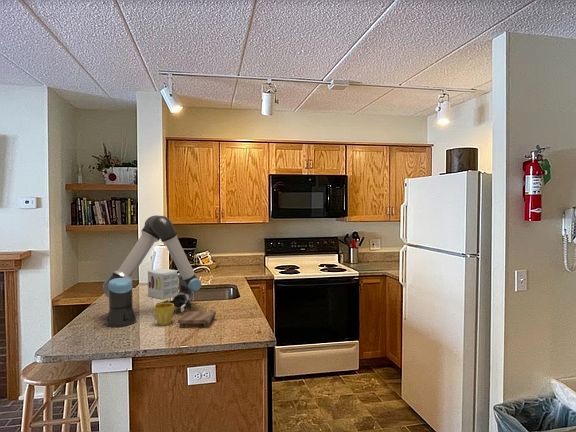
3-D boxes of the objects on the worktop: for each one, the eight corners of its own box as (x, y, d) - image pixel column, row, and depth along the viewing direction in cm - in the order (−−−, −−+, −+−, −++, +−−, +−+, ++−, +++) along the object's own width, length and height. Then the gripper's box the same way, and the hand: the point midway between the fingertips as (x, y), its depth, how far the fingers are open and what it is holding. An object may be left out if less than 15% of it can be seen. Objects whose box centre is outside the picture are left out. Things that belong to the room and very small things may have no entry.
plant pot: (168, 326, 198) (168, 308, 198) (150, 325, 201) (150, 307, 200) (178, 320, 209) (177, 303, 208) (160, 319, 211) (160, 302, 210)
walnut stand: (178, 327, 196) (177, 320, 196) (187, 318, 212) (187, 311, 212) (208, 327, 196) (208, 320, 196) (215, 318, 212) (215, 311, 212)
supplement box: (147, 296, 266) (146, 270, 265) (163, 292, 277) (162, 268, 276) (163, 299, 256) (162, 273, 255) (179, 295, 267) (178, 270, 266)
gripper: (201, 306, 231) (191, 316, 209) (160, 306, 231) (146, 316, 210) (201, 293, 230) (191, 302, 209) (160, 294, 231) (146, 303, 210)
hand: (169, 309), depth 210 cm, fingers open, 13 cm apart
